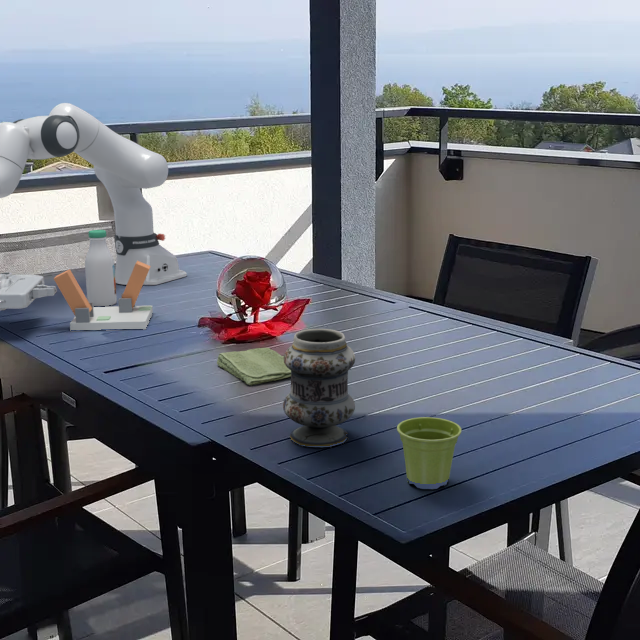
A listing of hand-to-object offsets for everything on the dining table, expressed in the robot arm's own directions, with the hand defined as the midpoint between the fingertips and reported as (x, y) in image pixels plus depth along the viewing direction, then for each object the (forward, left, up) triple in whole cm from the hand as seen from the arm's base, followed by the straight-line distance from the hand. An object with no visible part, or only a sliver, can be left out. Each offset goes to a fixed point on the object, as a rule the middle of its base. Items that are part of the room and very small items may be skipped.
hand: (55, 290), depth 220 cm
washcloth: (-10, +61, -10) cm, 63 cm away
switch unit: (-12, +5, -9) cm, 16 cm away
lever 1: (-5, +5, -6) cm, 9 cm away
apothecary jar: (+9, +95, -10) cm, 96 cm away
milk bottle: (-21, -13, -10) cm, 26 cm away
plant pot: (+11, +119, -10) cm, 120 cm away
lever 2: (-17, +4, -6) cm, 19 cm away
